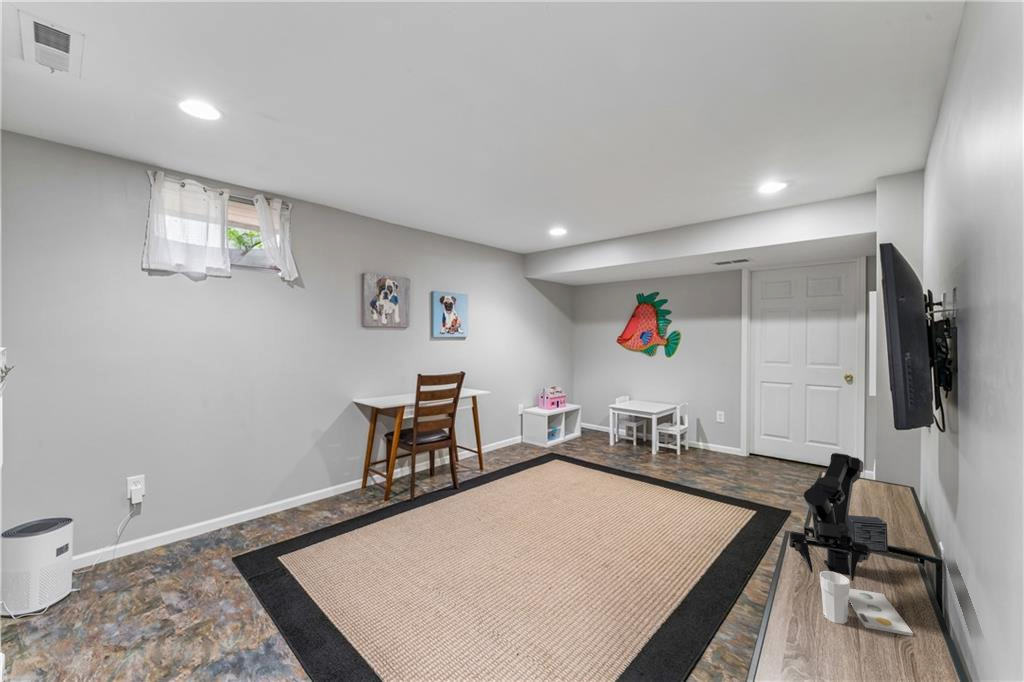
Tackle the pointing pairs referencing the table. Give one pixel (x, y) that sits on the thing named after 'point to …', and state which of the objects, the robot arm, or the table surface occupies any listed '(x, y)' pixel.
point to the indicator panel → (877, 612)
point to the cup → (835, 596)
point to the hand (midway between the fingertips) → (831, 576)
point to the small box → (869, 532)
